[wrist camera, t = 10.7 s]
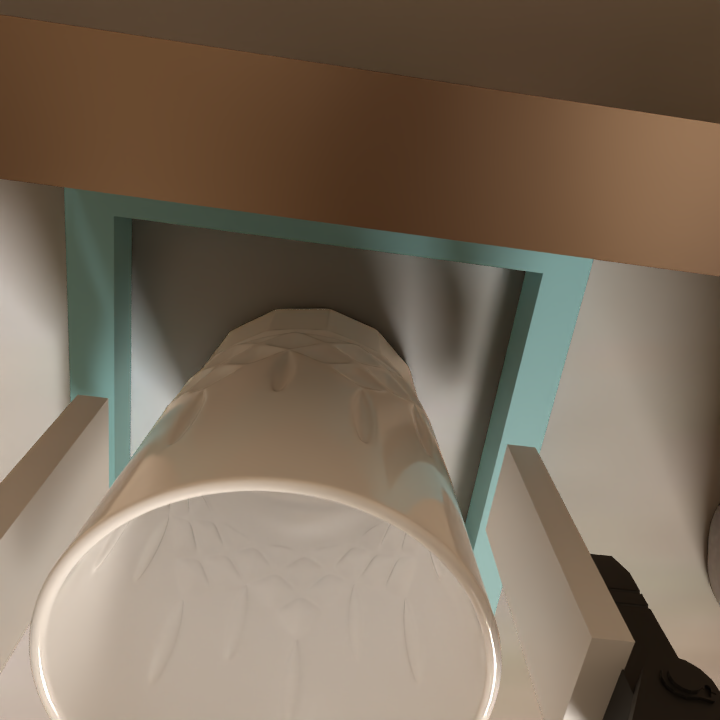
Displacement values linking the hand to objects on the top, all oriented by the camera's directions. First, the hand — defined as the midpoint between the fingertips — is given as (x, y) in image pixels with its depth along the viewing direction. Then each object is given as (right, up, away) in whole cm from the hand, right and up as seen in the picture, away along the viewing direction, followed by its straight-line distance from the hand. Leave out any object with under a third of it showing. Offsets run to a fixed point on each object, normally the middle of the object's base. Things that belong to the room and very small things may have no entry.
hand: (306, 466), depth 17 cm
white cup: (0, +1, +3) cm, 3 cm away
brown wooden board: (+1, +9, 0) cm, 9 cm away
